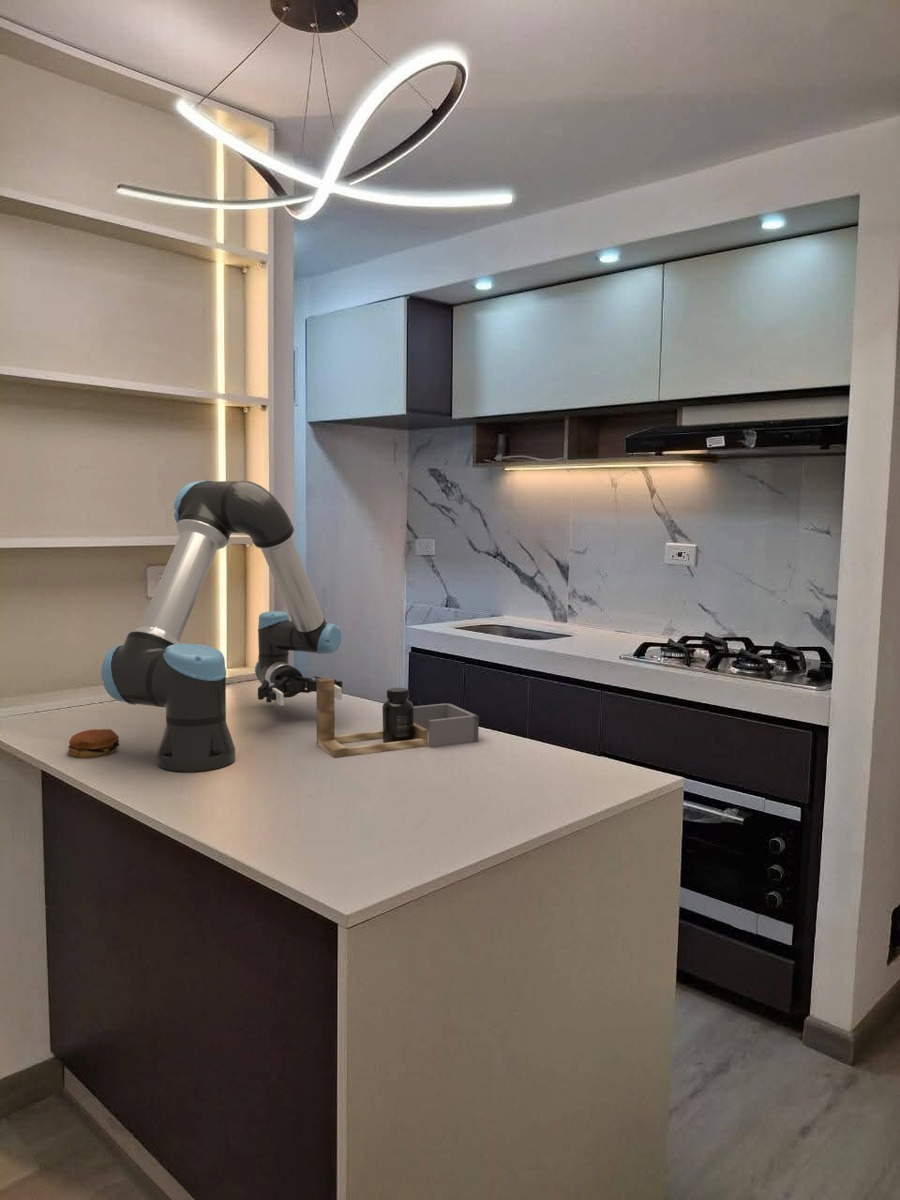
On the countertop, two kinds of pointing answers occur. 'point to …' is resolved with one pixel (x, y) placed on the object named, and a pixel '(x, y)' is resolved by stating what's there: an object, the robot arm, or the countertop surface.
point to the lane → (447, 724)
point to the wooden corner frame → (332, 742)
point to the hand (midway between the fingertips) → (311, 696)
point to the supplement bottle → (397, 716)
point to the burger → (93, 743)
